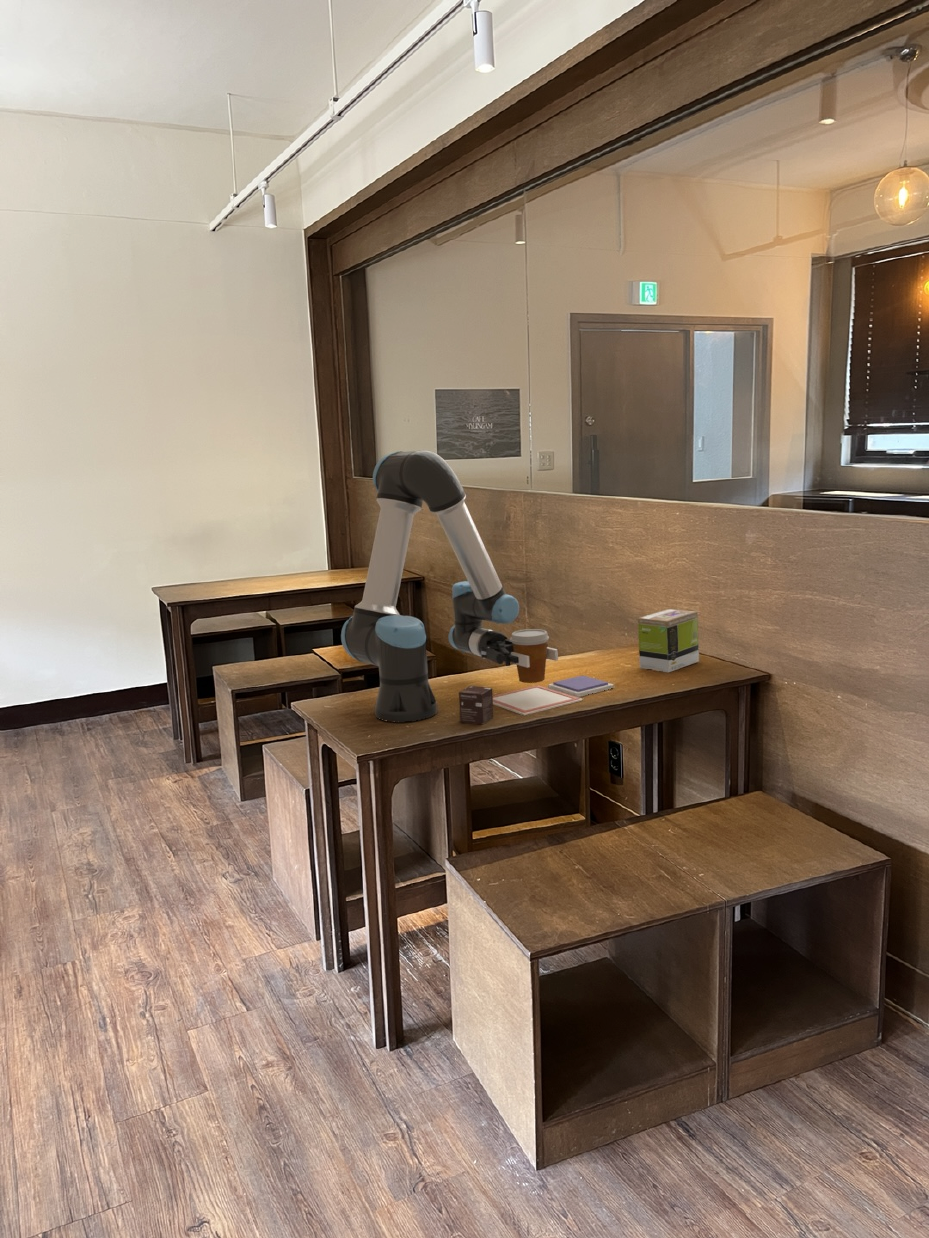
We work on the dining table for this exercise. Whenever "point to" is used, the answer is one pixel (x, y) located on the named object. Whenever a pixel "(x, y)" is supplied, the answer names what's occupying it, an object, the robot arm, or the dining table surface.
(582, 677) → the ink pad
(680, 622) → the tea box
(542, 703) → the marked board
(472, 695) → the box
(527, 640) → the disposable coffee cup
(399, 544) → the robot arm
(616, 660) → the dining table surface
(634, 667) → the dining table surface
